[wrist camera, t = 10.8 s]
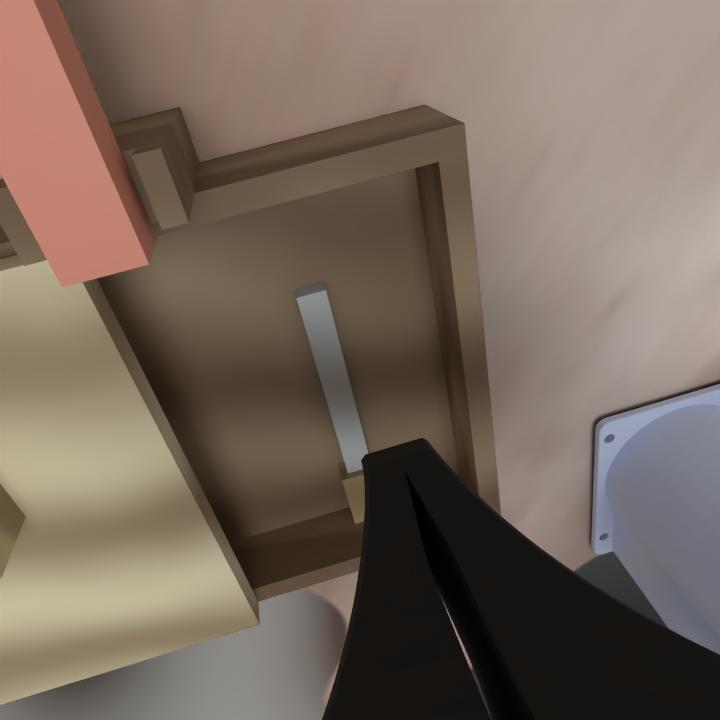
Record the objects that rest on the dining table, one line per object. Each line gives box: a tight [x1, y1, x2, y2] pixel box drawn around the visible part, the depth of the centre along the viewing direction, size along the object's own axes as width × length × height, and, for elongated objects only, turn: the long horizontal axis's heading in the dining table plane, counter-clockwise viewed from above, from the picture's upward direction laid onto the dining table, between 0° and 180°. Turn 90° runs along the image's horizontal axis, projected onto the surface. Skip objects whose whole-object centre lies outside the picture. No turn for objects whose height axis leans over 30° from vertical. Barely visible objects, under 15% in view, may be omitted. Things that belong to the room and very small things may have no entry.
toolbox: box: [0, 105, 501, 601], centre depth 19 cm, size 18×18×6 cm
